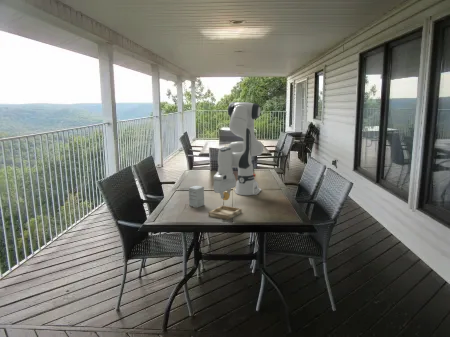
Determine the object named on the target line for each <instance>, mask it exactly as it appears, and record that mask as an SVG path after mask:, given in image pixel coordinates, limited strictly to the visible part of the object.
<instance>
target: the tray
mask: <svg viewBox="0 0 450 337" xmlns="http://www.w3.org/2000/svg"><path fill="white" fill-rule="evenodd" d="M242 209H243V208H240V207H234V206H230V205H229V206H227V205H224V204H223V205H220V206H218V207H215V208H214V209H213V210H212V209H211V210H210V211H208V214H207V215H208V217H212V218H217V219H222V220H227V221H229V220H231V219H233V218H234V217H237V216H238V215H239V214H242V211H243V210H242Z"/></svg>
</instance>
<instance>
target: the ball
mask: <svg viewBox="0 0 450 337" xmlns="http://www.w3.org/2000/svg"><path fill="white" fill-rule="evenodd" d="M223 194H224V195H225V198H223V199H222V200H223V201H228V200H229V199H230V196H231V195H230V196H229V193H227V191H224V193H223Z"/></svg>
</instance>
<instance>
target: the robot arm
mask: <svg viewBox="0 0 450 337" xmlns="http://www.w3.org/2000/svg"><path fill="white" fill-rule="evenodd" d="M227 113H228V116H229V117H230V119H229V124H228V125H229V130H230V132H231V133H232V134H234V136H236V137H239V138H241V139H243V140H240V141H231V142H230V143H229V144H228V146H226V147H225V146H224V147H223V146H222V147H221V148H218V152H217V164H218V167H217V172H216V173H215V174H214V175H213V191H214V193H217V194H219V195H220V199H222V200H223V198H225V195H224V194H223V193H224V192H227V193H229V196H231V191H232V189H234V188H235V189H234V193H235V194H237V195H240V196H256V195H258V194H259V193H260V192H261V191H262V188H260V187H259V182H257V180H255V177H256V173H254V163H252V157H257V156H261V155H262V154H263V152H264V145H263V143H262V142H261V141H259V140H258V139H257V137H256V135H255V120H256V119H258V118H259V117H260V115H261V107H260V105H259V104H258V103H255V102H253V103H252V102H247V101H244V102H243V101H239V102H237V101H233V102H230V103H229V105H228V106H227ZM233 168H237V175H236V176H235V174H234V170H233ZM236 178H237V180H236Z"/></svg>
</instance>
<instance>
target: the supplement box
mask: <svg viewBox="0 0 450 337" xmlns="http://www.w3.org/2000/svg"><path fill="white" fill-rule="evenodd" d="M188 202H189V204H188V205H189V207H192V206H193V207H194V208H196V207H197V208H200V207H203V206H205V187H204V186H201V185H193V186H190V187H188Z"/></svg>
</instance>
